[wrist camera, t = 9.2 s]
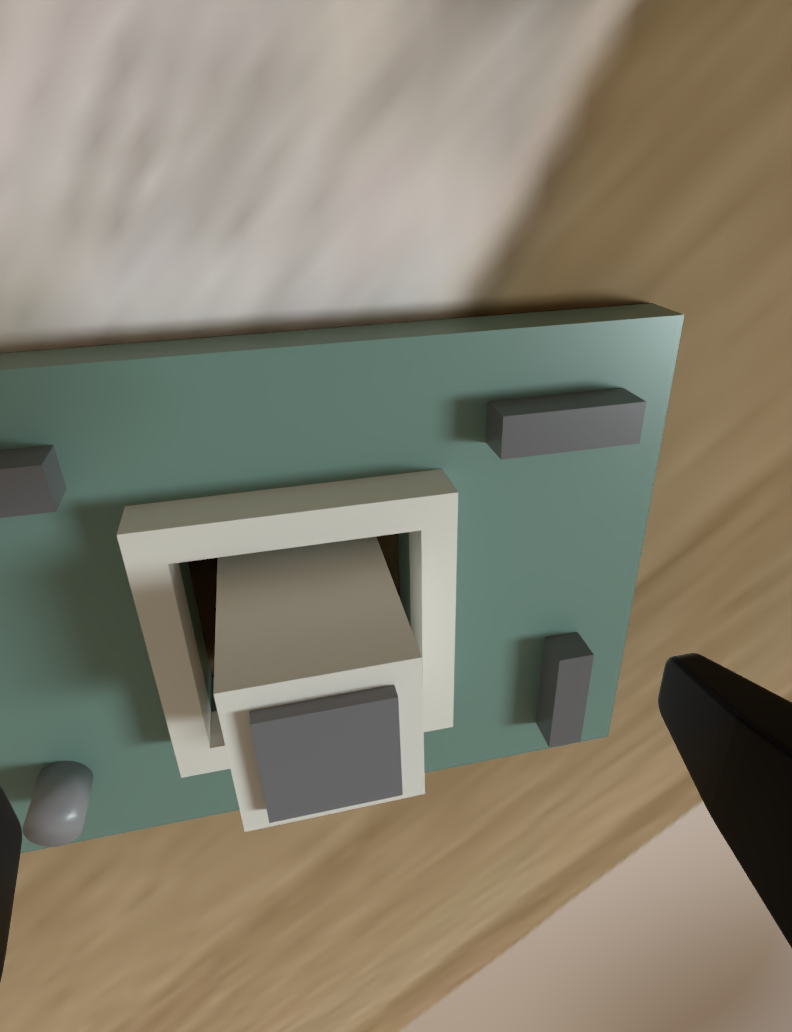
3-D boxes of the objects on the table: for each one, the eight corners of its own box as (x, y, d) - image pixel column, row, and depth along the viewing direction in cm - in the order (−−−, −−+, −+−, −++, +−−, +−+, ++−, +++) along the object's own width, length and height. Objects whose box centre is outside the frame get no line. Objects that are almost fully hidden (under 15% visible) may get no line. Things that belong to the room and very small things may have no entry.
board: (652, 303, 19) (726, 330, 16) (589, 706, 27) (632, 773, 24) (-205, 369, 16) (-305, 419, 13) (7, 817, 23) (-25, 911, 20)
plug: (366, 510, 21) (426, 669, 14) (375, 647, 23) (429, 832, 17) (218, 530, 20) (213, 707, 14) (245, 670, 23) (251, 872, 16)
